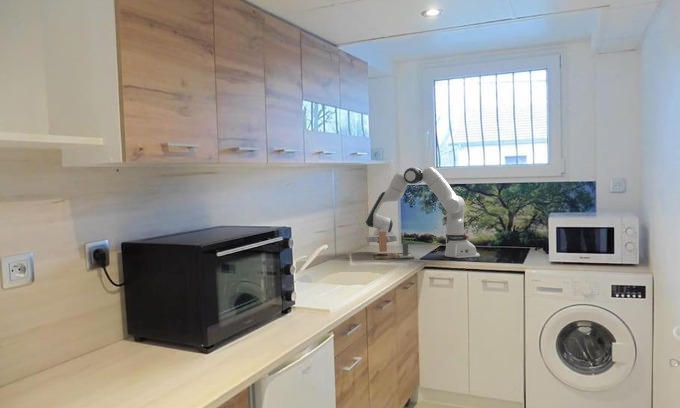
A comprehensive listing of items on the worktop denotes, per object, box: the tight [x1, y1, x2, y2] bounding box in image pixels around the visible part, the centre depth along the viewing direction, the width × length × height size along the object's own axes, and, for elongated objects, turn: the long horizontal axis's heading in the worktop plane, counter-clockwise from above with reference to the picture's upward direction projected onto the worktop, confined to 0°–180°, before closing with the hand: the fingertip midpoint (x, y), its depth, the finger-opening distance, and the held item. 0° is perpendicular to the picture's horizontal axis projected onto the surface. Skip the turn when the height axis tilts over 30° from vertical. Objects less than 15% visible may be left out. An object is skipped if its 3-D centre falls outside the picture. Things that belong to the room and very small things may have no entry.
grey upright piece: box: [399, 241, 414, 258], centre depth 320 cm, size 8×8×9 cm
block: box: [378, 231, 388, 253], centre depth 328 cm, size 4×4×13 cm
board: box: [373, 251, 415, 261], centre depth 327 cm, size 24×18×2 cm
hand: (382, 239), depth 327 cm, fingers closed on block, 4 cm apart
